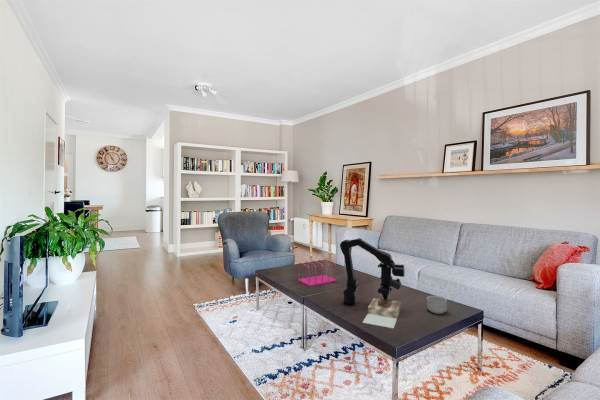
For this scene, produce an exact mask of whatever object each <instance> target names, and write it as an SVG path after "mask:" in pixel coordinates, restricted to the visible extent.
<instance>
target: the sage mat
mask: <svg viewBox="0 0 600 400" xmlns="http://www.w3.org/2000/svg"><path fill="white" fill-rule="evenodd" d="M397 320H398V318H392V317H386V316H380V315H374V314H368V313H367V314H366V316H365V318H364V319H363V321H362V324H367V325H372V326H377V327H384V328H388V329H394V328H395V326H396V323H397Z"/></svg>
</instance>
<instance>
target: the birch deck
mask: <svg viewBox="0 0 600 400" xmlns="http://www.w3.org/2000/svg"><path fill="white" fill-rule="evenodd" d="M379 299H380V298H375V297H373V298H372V300H371V301H370V303H369V305H368V306H367V314H374V315H380V316H386V317H392V318H397V319H398V318H399V315H400V312H401V310H402V302H401V301H397V300H392V304H391V307H384V306H378V300H379Z"/></svg>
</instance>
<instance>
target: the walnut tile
mask: <svg viewBox="0 0 600 400" xmlns="http://www.w3.org/2000/svg"><path fill="white" fill-rule="evenodd" d="M378 299H379V300H378V306H384V307H391V304H392V301H393V300H392V299H384V298H378Z"/></svg>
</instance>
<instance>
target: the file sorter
mask: <svg viewBox="0 0 600 400" xmlns="http://www.w3.org/2000/svg"><path fill="white" fill-rule="evenodd" d="M326 260H327V261H328V262H332V263H333V264H334V278H333V277H330V270H328V275H327V274H326V272H325V268H326V267H325V265H326V264H327V266H328V267H330V264H329V263H328V262H327V261H326ZM320 261H321V262H323V263H321V262H320ZM314 262H316V263H317V266H316V265H315V263H314ZM307 263H308V264H310V265H311V274H313V270H314V269H315V270H314V274H315V275H314V276H313V275H312V276H310V265H308V264H307ZM300 264H302V265H304V272H305V273H304V275H305V276H304V277H300V276H301V275H300V273H301V272H300V271H301V269H300V266H301V265H300ZM320 265H321V275H319V269H320V267H319V266H320ZM306 267H307V268H308V276H307V268H306ZM313 267H314V269H313ZM336 268H337V265H336V263H335V261H333V260H331V259H327V258H325V259H323V260H322V259H318V261H317V260H315V259H314V260H312V261H311V262H310V261H308V260H306V261H305V262H304V263H303V262H299V263H298V278H297V282H298V283H301V284H302V285H305V286H306V287H309V288H310V287H315V286H321V285H326V284H332V283H333V284H334V283H337V282H338V280H337V279H336V275H337V273H336V272H337V269H336Z"/></svg>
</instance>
